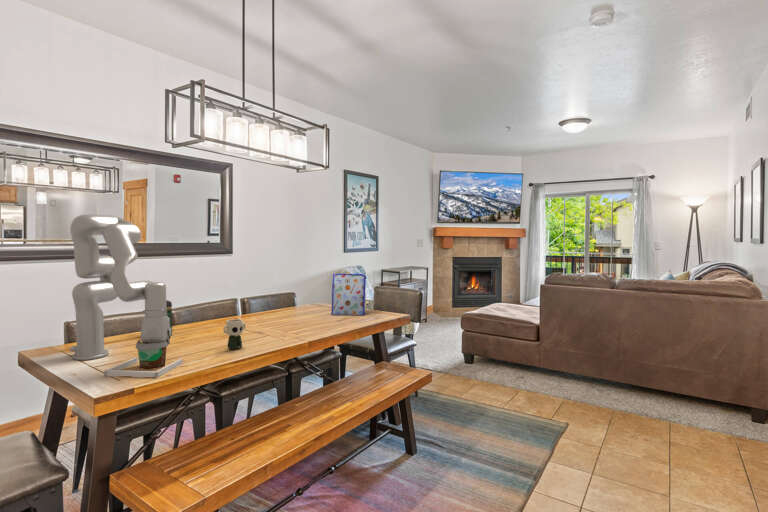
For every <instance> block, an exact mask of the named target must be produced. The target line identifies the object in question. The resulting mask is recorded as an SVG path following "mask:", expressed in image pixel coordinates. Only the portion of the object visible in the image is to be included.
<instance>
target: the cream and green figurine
mask: <svg viewBox="0 0 768 512" xmlns="http://www.w3.org/2000/svg"><path fill="white" fill-rule="evenodd" d="M225 323H226V325H224V326H223V327H222V328H223V331H222V332H223V334H226V335H228V336H229V337H228V340H227V348H228V349H230V350H237V349H238V348H239V349H241V348H243V343H242V336H241V335H243V332H244V330H246V322H244V321H243V319H242V318H241V319H240V318H232V319H226V322H225Z"/></svg>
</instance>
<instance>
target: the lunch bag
mask: <svg viewBox="0 0 768 512" xmlns="http://www.w3.org/2000/svg"><path fill="white" fill-rule="evenodd" d="M366 279H367V276H366V274H363V273H343V272H342V273H333V274H332V283H331V284H332V286H331V287H332V288H331V313H330V314H331V315H334V316H365V310H366V297H367V296H366V283H367V282H366V281H367V280H366Z"/></svg>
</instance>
